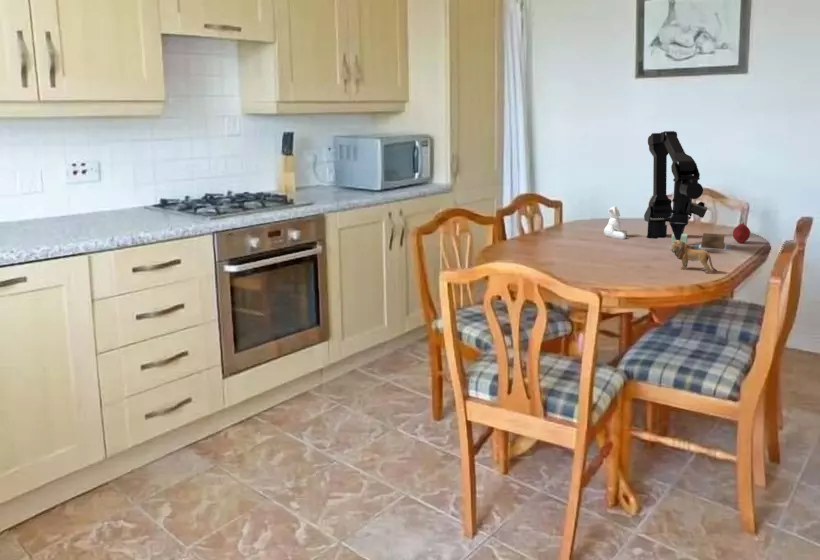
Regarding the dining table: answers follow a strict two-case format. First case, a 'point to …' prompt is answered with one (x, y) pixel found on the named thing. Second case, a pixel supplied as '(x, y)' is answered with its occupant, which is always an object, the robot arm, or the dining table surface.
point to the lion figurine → (691, 255)
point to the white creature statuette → (614, 225)
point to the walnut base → (713, 241)
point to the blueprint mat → (726, 248)
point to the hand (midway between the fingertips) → (679, 239)
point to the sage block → (683, 239)
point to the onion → (741, 233)
